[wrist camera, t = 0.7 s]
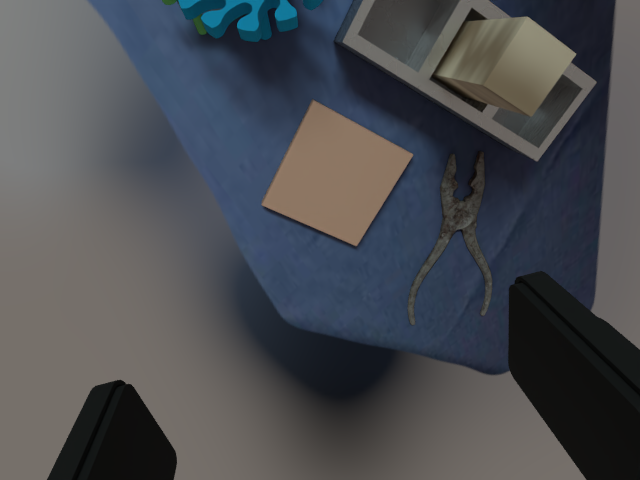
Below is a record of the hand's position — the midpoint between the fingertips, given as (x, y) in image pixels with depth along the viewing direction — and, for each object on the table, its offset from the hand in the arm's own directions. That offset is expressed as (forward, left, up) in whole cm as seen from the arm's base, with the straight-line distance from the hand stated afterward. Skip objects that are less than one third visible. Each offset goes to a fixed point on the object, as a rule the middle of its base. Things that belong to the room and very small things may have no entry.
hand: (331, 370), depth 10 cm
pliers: (+3, +20, -28) cm, 34 cm away
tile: (+1, +6, -27) cm, 28 cm away
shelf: (-12, +10, -27) cm, 31 cm away
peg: (-12, +10, -26) cm, 30 cm away
